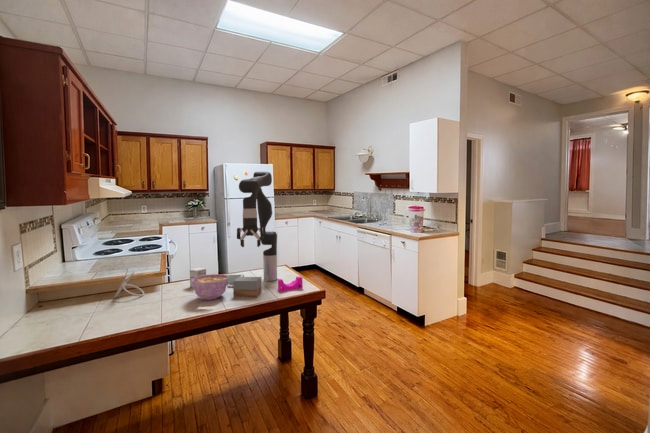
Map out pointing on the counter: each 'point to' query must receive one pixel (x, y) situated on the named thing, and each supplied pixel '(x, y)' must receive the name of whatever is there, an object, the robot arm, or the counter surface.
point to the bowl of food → (210, 286)
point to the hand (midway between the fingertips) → (250, 246)
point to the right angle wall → (232, 278)
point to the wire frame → (128, 285)
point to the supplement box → (196, 274)
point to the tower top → (247, 283)
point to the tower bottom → (247, 293)
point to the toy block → (290, 285)
